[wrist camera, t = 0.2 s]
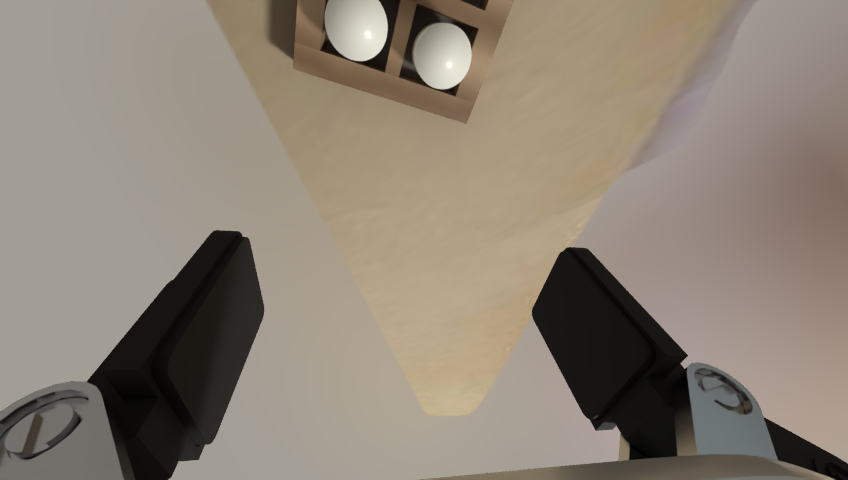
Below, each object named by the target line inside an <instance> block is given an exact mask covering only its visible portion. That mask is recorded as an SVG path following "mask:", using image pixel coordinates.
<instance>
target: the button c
mask: <svg viewBox="0 0 848 480" xmlns="http://www.w3.org/2000/svg"><path fill="white" fill-rule="evenodd" d="M325 28H326V32H327V35H328V37H329V39H330V41H331V43H332V45H333V46H334V47H335V49H336V50H337V51H338V52H339V53H340V54H342V55H343V56H345V57H346V58H348V59H351V60H354V61H366V60H369V59H371V58H373V57H375V56H376V55H377V54H378V53H379V52H380V51H381V49H382V48H383V46H384V44H385V42H386V38H387V32H388V24H387V18H386V14H385V11H384V9H383V7H382V5H381V3H380V2H379V0H329V1H328V3H327V6H326V10H325Z"/></svg>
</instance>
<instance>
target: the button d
mask: <svg viewBox="0 0 848 480" xmlns="http://www.w3.org/2000/svg"><path fill="white" fill-rule="evenodd" d="M471 58H472V51H471V45H470V42H469V40H468V37H467V36H466V34H465V33H464V32H463V31H462V30H461V29H460V28H459V27H457V26H455V25H453V24H450V23H432V24H430V25H428V26H426V27H424V28H423V29H422V30H421V31H420V32H419V33H418V35H417V37H416V38H415V41H414V44H413V48H412V60H413V64H414V67H415V69H416V71H417V72H418V74H419V75H420V77H421V78H422V79H423V81H424V82H425V83H427V84H428V85H429V86H431V87H433V88H436V89H448V88H451V87H453V86H455V85H457V84H458V83H459V82H461V81H462V79H463V78H464V77H465V76H466V74H467V72H468V70H469V67H470V64H471Z"/></svg>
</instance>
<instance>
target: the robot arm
mask: <svg viewBox="0 0 848 480" xmlns="http://www.w3.org/2000/svg"><path fill="white" fill-rule="evenodd" d="M263 315H264V304H263V300H262V295H261V290H260V286H259V281H258V277H257V272H256V268H255V263H254V258H253V254H252V249H251V245H250V241H249V239H248V238H247V237H242V234H241V233H240V232H238V231H219V230H216V231H213V232H212V233H211V234H210V235H209V237H208V238H207V239H206V240H205V242H204V243H203V244H202V245H201V247H200V248H199V249H198V250H197V251H196V253H195V254H194V255H193V256H192V258H191V259H190V260H189V261H188V262H187V264H186V265H185V266H184V267H183V269H182V270H181V271H180V272H179V274H178V275H177V276H176V277H175V279H174V280H172V281H170V282H169V283H168V284H167V285H166V286H165V287H164V288H163V290H162V291H161V292H160V293H159V295H158V296H157V297H156V298H155V299H154V301H153V302H152V303H151V304H150V306H149V307H148V308H147V309H146V310H145V311H144V313H143V314H142V315H141V316H140V318H139V319H138V320H137V321H136V323H135V324H134V325H133V326H132V327H131V329H130V330H129V331H128V332H127V333H126V335H125V336H124V337H123V338H122V339H121V341H120V342H119V343H118V345H117V346H116V347H115V348H114V349H113V350H112V352H111V353H110V354H109V355H108V357H107V358H106V359H105V360H104V361H103V363H102V364H101V365H100V366H99V368H98V369H97V370H96V371H95V372H94V374H93V375H92V376H91V377H90V378H89V380H88V381H87V382H74V381H71V382H66V383H61V384H55V385H52V386H49V387H46V388H44V389H41V390H38V391H36V392H33V393H31V394H29V395H27V396H25V397H24V398H22V399H20V400H18V401H16V402H14V403H13V404H11V405H10V406H8V407H7V408H5V409H4V410H2V411H1V412H0V480H168V479H169V478H170V477H171V476H172V474H173V472H174V470H175V468H176V465H177V463H178V461H188V460H198V459H199V457H200V455H201V453H202V450H203V448H204V446H205V445H206V444H211V443H212V442H213V440H214V439H215V437H216V434H217V432H218V430H219V427H220V425H221V422H222V419H223V417H224V414H225V412H226V409H227V407H228V404H229V402H230V399H231V397H232V394H233V392H234V389H235V387H236V384H237V381H238V379H239V377H240V374H241V372H242V369H243V366H244V364H245V362H246V359H247V356H248V354H249V352H250V349H251V346H252V344H253V341H254V339H255V337H256V334H257V332H258V329H259V326H260V324H261V322H262V319H263ZM532 316H533V319H534V321H535V323H536V325H537V327H538V329H539V331H540V333H541V335H542V336H543V338H544V340H545V342H546V344H547V346H548V348H549V350H550V352H551V354H552V355H553V357H554V359H555V361H556V363H557V365H558V367H559V369H560V370H561V373H562V374H563V376H564V378H565V380H566V382H567V384H568V386H569V388H570V389H571V392H572V394H573V395H574V397H575V399H576V401H577V403H578V404H579V407H580V409H581V410H582V412H583V414H584V415H585V416H586V417H587V418H588V419H590V421H591V423H592V424H593V426H594V428H595V430H596V431H597V430H610V429H613V428H614V427H615V426H616V425H617V427H618V429H619V430H620V432H621V434H620V447H619V460H618V461H615V462H603V463H592V464H582V465H570V466H559V467H549V468H537V469H527V470H517V471H506V472H497V473H485V474H475V475H464V476H453V477H443V478H432V479H422V480H848V464H847V463H846V462H844V461H842V460H841V459H839V458H838V457H836V456H834V455H832V454H830V453H829V452H827V451H825V450H823V449H821V448H819V447H817V446H816V445H814V444H812V443H810V442H808V441H806V440H805V439H803V438H801V437H799V436H797V435H796V434H793V433H792V432H790V431H788V430H786V429H785V428H783V427H780V426H779V425H777V424H775V423H773V422H772V421H770V420H768V419H766V418H764V417H763V414H762V411H761V408H760V406H759V405H758V403H757V401H756V399H755V398H754V397H753V396H752V394H751V393H750V392H749V391H748V390H747V389H746V388H745V387H744V386H743V385H742V384H741V383H739V382H738V381H737V380H736V379H734V378H733V377H731V376H730V375H729V374H727V373H725V372H723V371H722V370H720V369H718V368H716V367H713V366H710V365H708V364H704V363H691V364H690V365H689V366H688V367H687V368H686V369H684V368H683V366H682V365H681V364H680V363H681V362H682V361H683V360H684V359H685V358H686V357H687V356H688V355H687V354H686V353H685V352H684V351H683V350H682V349H681V348H680V347H679V345H678V344H677V343H676V342H675V341H674V340H673V339H672V338H671V337H670V336H669V335H668V334H667V333H666V332H665V331H664V329H663V328H662V327H661V326H660V325H659V324H658V323H657V322H656V321H655V320H654V319H653V318H652V317H651V316H650V315H649V314H648V312H647V311H646V310H645V309H644V308H643V307H642V306H641V305H640V304H639V303H638V302H637V301H636V300H635V299H634V298H633V296H632V295H631V294H629V292H628V291H627V290H626V289H625V288H624V287H623V286H622V285H621V284H620V283H619V282H618V280H617V279H616V278H615V277H614V276H613V275H612V274H611V273H610V272H609V271H608V270H607V269H606V268H605V267H604V266H603V264H602V263H601V262H600V261H599V260H598V259H597V258H596V257H595V256H594V255H593V254H592V253H591V252H590V251H589V250H588V249H586V248H574V247H569V248H566V249H565V250H564V251H563V252H561V253H560V254H559V256H558V258H557V260H556V262H555V264H554V266H553V268H552V270H551V272H550V274H549V276H548V278H547V280H546V282H545V284H544V286H543V288H542V290H541V292H540V294H539V296H538V299H537V301H536V303H535V305H534V307H533V309H532Z"/></svg>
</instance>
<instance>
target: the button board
mask: <svg viewBox="0 0 848 480" xmlns="http://www.w3.org/2000/svg"><path fill="white" fill-rule="evenodd" d="M328 1H329V0H298V1H297V16H296V30H295V44H294V59H293V69H295V70H298V71H301V72H304V73H307V74H311V75H314V76H317V77H320V78H323V79H326V80H330V81H333V82H336V83H339V84H342V85H345V86H349V87H352V88H355V89H358V90H361V91H364V92H368V93H371V94H374V95H377V96H380V97H383V98H387V99H390V100H393V101H396V102H399V103H402V104H406V105H409V106H412V107H415V108H418V109H421V110H425V111H428V112H431V113H434V114H437V115H440V116H444V117H447V118H450V119H453V120H456V121H459V122H462V123H466V124H467V122H468V119H469V116H470V114H471V111H472V108H473V106H474V103H475V101H476V98H477V95H478V93H479V90H480V87H481V85H482V82H483V80H484V77H485V74H486V72H487V69H488V67H489V64H490V61H491V59H492V56H493V53H494V51H495V48H496V46H497V43H498V40H499V38H500V35H501V32H502V30H503V27H504V25H505V22H506V19H507V17H508V14H509V11H510V9H511V6H512V4H513V1H514V0H379V2H380V3H381V5H382V7H383V9H384V11H385V14H386V18H387V24H388V32H387V38H386V42H385V44H384V46H383V48H382V49H381V51H380V52H379V53H378V54H377V55H376V56H375V57H373V58H371V59H369V60H366V61H354V60H351V59H348V58H346V57H345V56H343V55H342V54H340V53H339V52H338V51H337V50H336V49H335V47H334V46H333V45H332V43H331V41H330V39H329V37H328V35H327V32H326V28H325V10H326V6H327V3H328ZM432 23H450V24H453V25H455V26H457V27H459V28H460V29H461V30H462V31H463V32H464V33H465V34H466V36H467V37H468V40H469V42H470V45H471V51H472V58H471V64H470V67H469V70H468V72H467V74H466V76H465V77H464V78H463V79H462V81H461V82H459V83H458V84H457V85H455V86H453V87H451V88H448V89H436V88H433V87H431V86H429V85H428V84H427V83H425V82H424V81H423V79H422V78H421V77H420V75H419V74H418V72H417V71H416V69H415V67H414V64H413V60H412V48H413V44H414V41H415V38H416V37H417V35H418V33H419V32H420V31H421V30H422V29H423V28H424V27H426V26H428V25H430V24H432Z"/></svg>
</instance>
